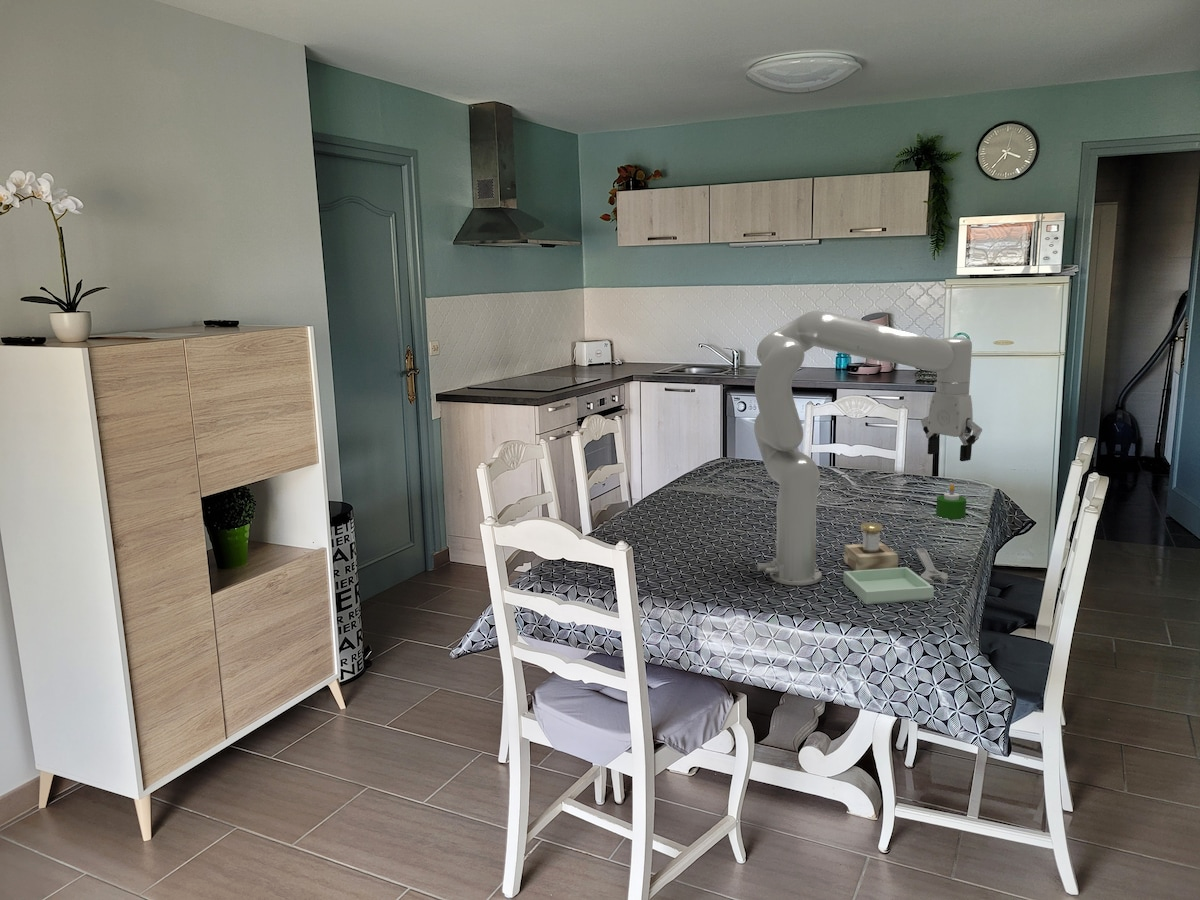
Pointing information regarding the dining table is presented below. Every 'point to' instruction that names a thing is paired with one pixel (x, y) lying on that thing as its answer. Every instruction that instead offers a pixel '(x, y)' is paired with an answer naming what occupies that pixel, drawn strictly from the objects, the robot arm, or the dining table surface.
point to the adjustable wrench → (930, 568)
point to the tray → (888, 585)
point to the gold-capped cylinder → (871, 537)
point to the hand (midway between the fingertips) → (948, 457)
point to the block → (870, 558)
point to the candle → (951, 505)
